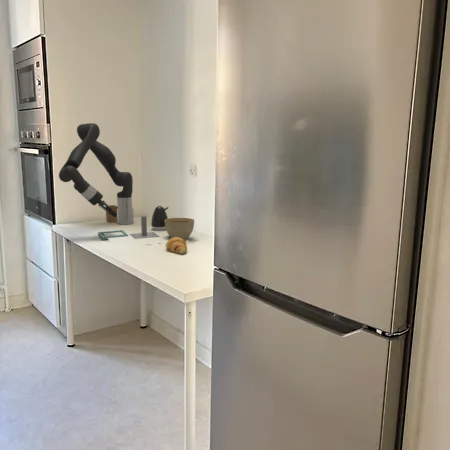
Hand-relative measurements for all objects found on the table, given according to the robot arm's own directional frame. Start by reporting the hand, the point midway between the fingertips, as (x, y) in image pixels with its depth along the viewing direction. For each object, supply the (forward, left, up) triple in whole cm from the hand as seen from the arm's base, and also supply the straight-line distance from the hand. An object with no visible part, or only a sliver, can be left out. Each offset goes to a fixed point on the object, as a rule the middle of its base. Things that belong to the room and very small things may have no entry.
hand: (115, 215), depth 249 cm
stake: (-7, +15, -12) cm, 20 cm away
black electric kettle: (-25, +12, -12) cm, 30 cm away
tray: (+1, -1, -12) cm, 12 cm away
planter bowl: (-13, +35, -12) cm, 39 cm away
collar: (+2, -1, -4) cm, 4 cm away
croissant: (+8, +48, -13) cm, 50 cm away
